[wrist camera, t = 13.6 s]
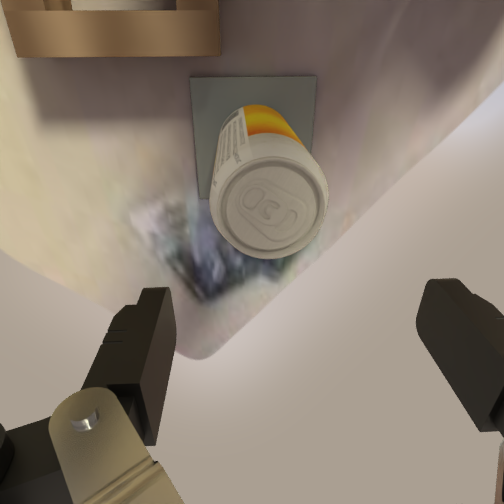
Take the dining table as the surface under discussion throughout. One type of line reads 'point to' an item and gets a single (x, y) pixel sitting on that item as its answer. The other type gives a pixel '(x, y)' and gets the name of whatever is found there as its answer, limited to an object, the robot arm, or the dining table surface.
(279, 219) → the beer can
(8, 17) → the pocket block
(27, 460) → the robot arm
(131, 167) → the dining table surface
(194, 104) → the mat
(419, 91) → the dining table surface
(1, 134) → the dining table surface
